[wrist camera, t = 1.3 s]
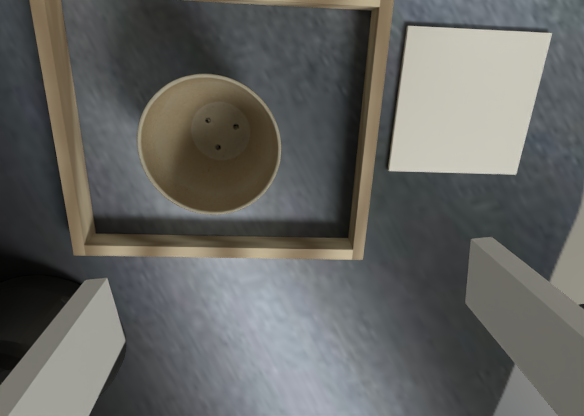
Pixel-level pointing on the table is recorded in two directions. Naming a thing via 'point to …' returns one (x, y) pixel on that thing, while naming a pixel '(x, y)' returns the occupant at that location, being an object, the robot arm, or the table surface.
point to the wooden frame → (91, 244)
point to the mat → (465, 99)
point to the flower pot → (209, 144)
